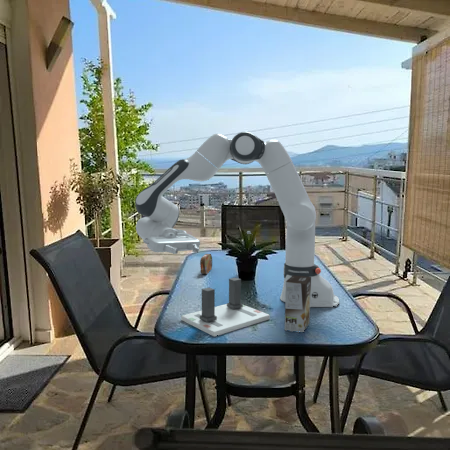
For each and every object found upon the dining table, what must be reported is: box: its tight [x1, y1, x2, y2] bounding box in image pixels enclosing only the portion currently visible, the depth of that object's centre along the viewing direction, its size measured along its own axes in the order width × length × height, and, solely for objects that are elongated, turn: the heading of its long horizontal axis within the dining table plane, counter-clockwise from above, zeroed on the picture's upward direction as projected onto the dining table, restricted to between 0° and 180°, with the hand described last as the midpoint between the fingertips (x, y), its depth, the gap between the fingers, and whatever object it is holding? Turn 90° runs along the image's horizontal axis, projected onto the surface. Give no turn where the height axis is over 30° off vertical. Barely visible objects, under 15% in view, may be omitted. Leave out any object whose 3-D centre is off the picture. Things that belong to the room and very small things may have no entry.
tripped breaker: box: [200, 287, 217, 322], centre depth 139 cm, size 4×4×10 cm
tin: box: [199, 253, 213, 275], centre depth 209 cm, size 15×3×8 cm, turn 168°
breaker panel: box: [180, 303, 271, 338], centre depth 145 cm, size 18×24×2 cm
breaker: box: [226, 277, 244, 309], centre depth 152 cm, size 4×4×10 cm
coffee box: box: [284, 275, 311, 333], centre depth 138 cm, size 9×6×16 cm
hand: (187, 251), depth 149 cm, fingers open, 8 cm apart
